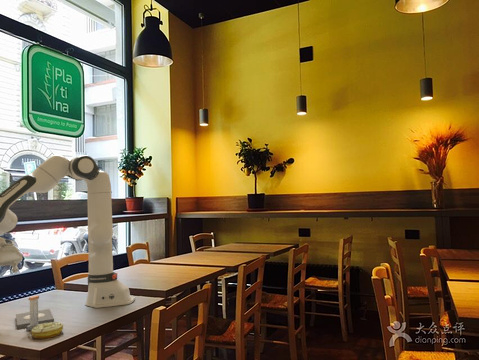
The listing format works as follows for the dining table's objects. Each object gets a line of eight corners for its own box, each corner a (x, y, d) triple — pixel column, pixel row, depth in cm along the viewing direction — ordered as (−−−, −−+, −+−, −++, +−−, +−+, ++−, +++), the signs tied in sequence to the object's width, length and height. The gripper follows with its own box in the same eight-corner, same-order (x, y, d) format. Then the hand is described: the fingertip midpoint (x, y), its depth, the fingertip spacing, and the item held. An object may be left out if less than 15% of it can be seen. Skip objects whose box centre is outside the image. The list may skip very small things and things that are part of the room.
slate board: (15, 317, 165) (15, 314, 165) (49, 312, 172) (49, 308, 172) (17, 329, 150) (17, 324, 150) (54, 322, 157) (54, 318, 157)
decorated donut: (55, 328, 150) (55, 318, 150) (68, 333, 143) (68, 323, 143) (26, 336, 142) (26, 325, 142) (39, 342, 135) (38, 331, 135)
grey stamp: (26, 330, 148) (26, 297, 148) (34, 327, 151) (33, 295, 152) (34, 331, 146) (33, 298, 147) (41, 328, 150) (41, 295, 150)
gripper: (-29, 242, 149) (-13, 271, 145) (16, 240, 169) (31, 265, 165) (-39, 253, 150) (-23, 281, 146) (7, 250, 170) (22, 274, 166)
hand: (6, 273), depth 156 cm, fingers open, 8 cm apart
